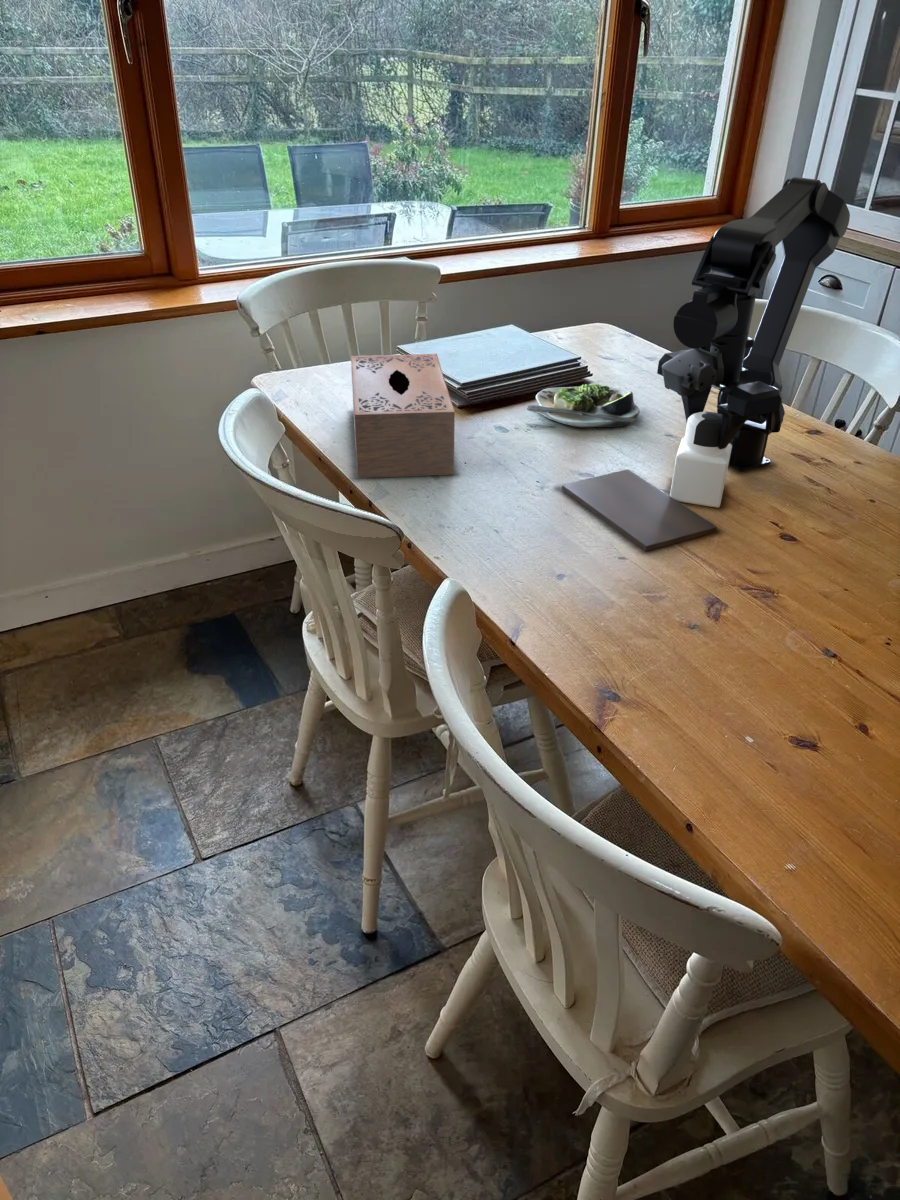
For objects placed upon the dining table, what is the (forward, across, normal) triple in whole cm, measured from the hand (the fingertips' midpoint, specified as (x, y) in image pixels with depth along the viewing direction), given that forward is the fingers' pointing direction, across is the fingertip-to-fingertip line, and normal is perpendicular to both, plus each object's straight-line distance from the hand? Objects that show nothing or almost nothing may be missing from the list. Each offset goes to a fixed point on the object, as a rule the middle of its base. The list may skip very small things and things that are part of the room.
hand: (706, 440), depth 128 cm
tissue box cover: (+9, -36, -31) cm, 48 cm away
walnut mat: (+8, 0, -11) cm, 14 cm away
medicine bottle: (+9, 0, 0) cm, 9 cm away
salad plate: (+9, -33, +4) cm, 34 cm away
